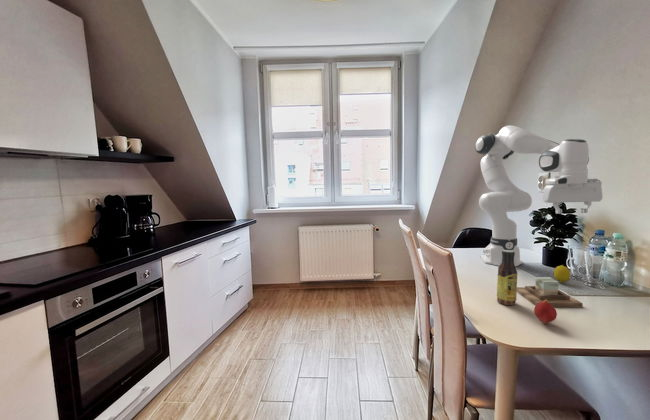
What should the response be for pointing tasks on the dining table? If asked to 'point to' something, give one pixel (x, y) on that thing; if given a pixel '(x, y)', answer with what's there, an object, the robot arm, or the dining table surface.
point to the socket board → (548, 297)
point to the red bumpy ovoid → (545, 312)
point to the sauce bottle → (507, 279)
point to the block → (546, 286)
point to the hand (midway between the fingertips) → (571, 213)
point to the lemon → (562, 274)
